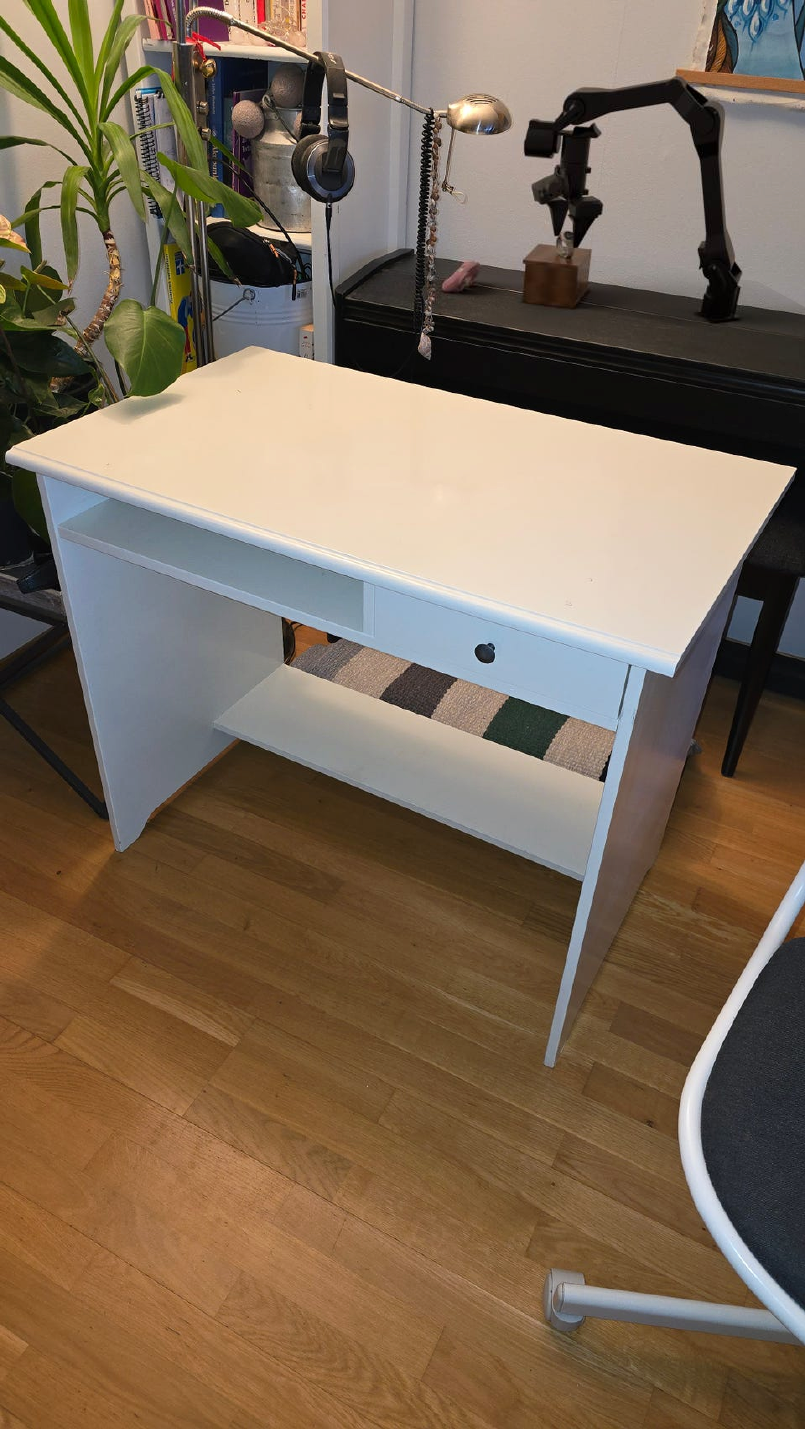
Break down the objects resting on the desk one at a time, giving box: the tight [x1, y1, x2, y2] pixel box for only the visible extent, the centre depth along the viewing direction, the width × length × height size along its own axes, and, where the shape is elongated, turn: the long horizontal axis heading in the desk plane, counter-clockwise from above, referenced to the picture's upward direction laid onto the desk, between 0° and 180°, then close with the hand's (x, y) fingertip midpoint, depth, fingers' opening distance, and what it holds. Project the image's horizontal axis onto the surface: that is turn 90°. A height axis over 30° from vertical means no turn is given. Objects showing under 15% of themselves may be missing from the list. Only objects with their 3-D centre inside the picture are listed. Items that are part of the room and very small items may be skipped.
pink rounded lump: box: [441, 259, 483, 293], centre depth 223 cm, size 10×5×7 cm, turn 148°
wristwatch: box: [555, 230, 575, 258], centre depth 213 cm, size 4×6×5 cm, turn 20°
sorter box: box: [522, 253, 592, 309], centre depth 218 cm, size 12×13×8 cm
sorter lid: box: [522, 243, 593, 270], centre depth 215 cm, size 12×13×1 cm
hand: (565, 242), depth 213 cm, fingers open, 9 cm apart
